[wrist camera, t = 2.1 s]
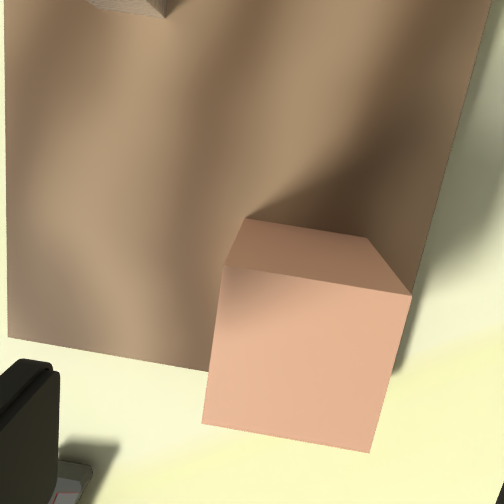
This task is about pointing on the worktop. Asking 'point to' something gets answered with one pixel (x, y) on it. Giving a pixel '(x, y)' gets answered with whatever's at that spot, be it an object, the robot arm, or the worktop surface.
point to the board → (213, 151)
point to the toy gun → (70, 482)
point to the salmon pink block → (304, 336)
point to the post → (133, 6)
